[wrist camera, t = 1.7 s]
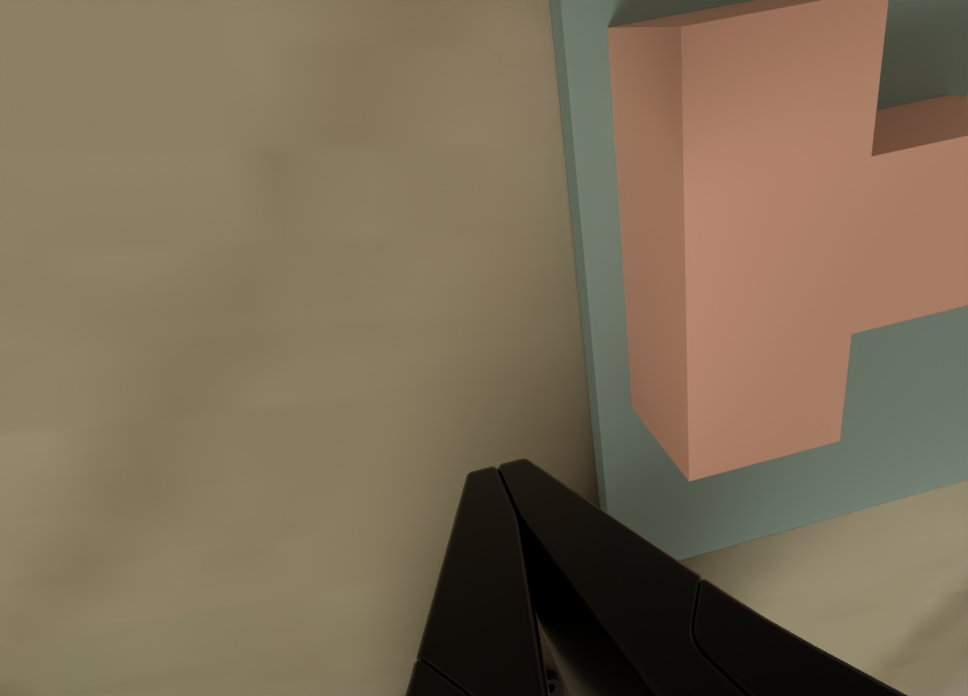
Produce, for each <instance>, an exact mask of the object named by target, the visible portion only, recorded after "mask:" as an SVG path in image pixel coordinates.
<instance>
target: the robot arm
mask: <svg viewBox="0 0 968 696" xmlns="http://www.w3.org/2000/svg"><path fill="white" fill-rule="evenodd" d="M536 617H537V619H536ZM537 620H538V623H539V626H540V628H541V631H542V633H543V635H544V638H545V640H546V643H547V645H548V647H549V649H550V652H551V654H552V656H553V658H554V661H555V663H556V665H557V667H558V670H559V672H560V674H561V676H562V679H563V681H564V683H565V685H566V688H567V690H568V692H569V694H570V696H907V695H905V694H903V693H902V692H900V691H898V690H896V689H894V688H892V687H890V686H889V685H887V684H885V683H883V682H881V681H879V680H877V679H876V678H874V677H872V676H870V675H868V674H866V673H864V672H863V671H861V670H859V669H857V668H855V667H853V666H851V665H850V664H848V663H846V662H844V661H842V660H840V659H838V658H837V657H835V656H833V655H831V654H829V653H827V652H825V651H824V650H822V649H820V648H818V647H816V646H814V645H812V644H811V643H809V642H807V641H805V640H804V639H802V638H800V637H798V636H797V635H795V634H793V633H791V632H790V631H788V630H786V629H784V628H782V627H781V626H779V625H777V624H775V623H774V622H772V621H770V620H768V619H767V618H765V617H764V616H762V615H760V614H759V613H757V612H756V611H754V610H752V609H751V608H749V607H748V606H746V605H745V604H743V603H741V602H740V601H738V600H737V599H735V598H734V597H732V596H730V595H729V594H727V593H726V592H724V591H723V590H721V589H720V588H718V587H717V586H715V585H714V584H712V583H711V582H709V581H708V580H706V579H702V580H701V577H700V575H699V574H697V573H696V572H694V571H693V570H691V569H690V568H688V567H687V566H685V565H684V564H682V563H681V562H679V561H678V560H676V559H675V558H673V557H672V556H670V555H669V554H667V553H666V552H664V551H663V550H661V549H660V548H658V547H657V546H655V545H654V544H652V543H651V542H650V541H648V540H647V539H645V538H644V537H642V536H641V535H639V534H638V533H636V532H635V531H633V530H632V529H630V528H629V527H627V526H626V525H624V524H623V523H621V522H620V521H618V520H617V519H615V518H614V517H612V516H611V515H609V514H608V513H606V512H605V511H603V510H602V509H600V508H599V507H597V506H596V505H594V504H593V503H591V502H590V501H589V500H587V499H586V498H584V497H583V496H581V495H580V494H578V493H577V492H575V491H574V490H572V489H571V488H569V487H568V486H566V485H565V484H563V483H562V482H560V481H559V480H557V479H556V478H554V477H553V476H551V475H550V474H548V473H547V472H545V471H544V470H542V469H541V468H539V467H538V466H536V465H535V464H533V463H532V462H530V461H529V460H527V459H519V460H515V461H511V462H507V463H503V464H501V465H499V467H498V469H497V468H495V467H488V468H484V469H480V470H476V471H472V472H470V473H469V474H468V475H467V477H466V480H465V484H464V488H463V491H462V495H461V498H460V502H459V506H458V509H457V513H456V516H455V520H454V524H453V527H452V531H451V535H450V538H449V542H448V545H447V549H446V553H445V556H444V560H443V563H442V567H441V571H440V574H439V578H438V581H437V585H436V589H435V592H434V596H433V599H432V603H431V607H430V610H429V614H428V617H427V621H426V625H425V628H424V632H423V635H422V639H421V643H420V646H419V650H418V654H417V661H416V662H415V663H414V667H413V670H412V674H411V678H410V681H409V685H408V688H407V692H406V695H405V696H563V689H562V684H561V681H560V678H559V675H558V673H557V672H555V671H554V670H545V665H544V660H543V654H542V648H541V642H540V636H539V630H538V624H537Z"/></svg>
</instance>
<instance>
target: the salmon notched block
mask: <svg viewBox="0 0 968 696" xmlns="http://www.w3.org/2000/svg"><path fill="white" fill-rule="evenodd" d="M888 1H889V0H754V1H749V2H743V3H738V4H733V5H727V6H722V7H717V8H711V9H706V10H700V11H695V12H690V13H684V14H679V15H673V16H668V17H663V18H657V19H652V20H646V21H641V22H636V23H630V24H625V25H619V26H614V27H609V28H607V31H608V47H609V62H610V78H611V94H612V109H613V125H614V140H615V156H616V171H617V187H618V202H619V218H620V233H621V249H622V264H623V280H624V296H625V311H626V327H627V342H628V358H629V373H630V389H631V404H632V409H633V410H634V412H635V413H636V414H637V416H638V417H639V418H640V419H641V421H642V422H643V423H644V424H645V426H646V427H647V428H648V430H649V431H650V432H651V433H652V435H653V436H654V437H655V439H656V440H657V441H658V442H659V444H660V445H661V446H662V447H663V449H664V450H665V451H666V453H667V454H668V455H669V456H670V458H671V459H672V460H673V461H674V463H675V464H676V465H677V467H678V468H679V469H680V470H681V472H682V473H683V474H684V475H685V477H686V478H687V479H688V481H693V480H696V479H700V478H704V477H707V476H711V475H715V474H719V473H722V472H726V471H730V470H734V469H737V468H741V467H745V466H749V465H752V464H756V463H760V462H764V461H767V460H771V459H775V458H779V457H782V456H786V455H790V454H793V453H797V452H801V451H805V450H808V449H812V448H816V447H820V446H823V445H827V444H831V443H835V442H838V441H840V434H841V425H842V416H843V407H844V398H845V389H846V380H847V371H848V362H849V353H850V344H851V335H852V334H854V333H858V332H862V331H866V330H870V329H874V328H878V327H882V326H886V325H890V324H894V323H898V322H902V321H906V320H910V319H914V318H918V317H922V316H926V315H930V314H934V313H938V312H942V311H946V310H950V309H954V308H958V307H962V306H966V305H968V97H966V96H956V95H947V96H943V97H938V98H933V99H928V100H924V101H919V102H914V103H909V104H905V105H900V106H895V107H890V108H885V109H881V110H876V109H877V100H878V91H879V82H880V73H881V64H882V55H883V46H884V37H885V28H886V19H887V10H888Z"/></svg>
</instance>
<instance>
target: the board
mask: <svg viewBox="0 0 968 696" xmlns="http://www.w3.org/2000/svg"><path fill="white" fill-rule="evenodd" d="M749 1H754V0H550V10H551V20H552V30H553V40H554V50H555V60H556V70H557V80H558V90H559V101H560V111H561V121H562V131H563V141H564V151H565V161H566V171H567V181H568V192H569V202H570V212H571V222H572V232H573V242H574V252H575V262H576V272H577V283H578V293H579V303H580V313H581V323H582V333H583V343H584V353H585V363H586V373H587V384H588V394H589V404H590V414H591V424H592V434H593V444H594V454H595V464H596V475H597V485H598V495H599V505H600V509H602V510H603V511H605V512H606V513H608V514H609V515H611V516H612V517H614V518H615V519H617V520H618V521H620V522H621V523H623V524H624V525H626V526H627V527H629V528H630V529H632V530H633V531H635V532H636V533H638V534H639V535H641V536H642V537H644V538H645V539H647V540H648V541H650V542H651V543H652V544H654V545H655V546H657V547H658V548H660V549H661V550H663V551H664V552H666V553H667V554H669V555H670V556H672V557H673V558H675V559H676V560H678V561H680V560H683V559H687V558H690V557H694V556H698V555H701V554H705V553H708V552H712V551H715V550H719V549H723V548H726V547H730V546H733V545H737V544H740V543H744V542H747V541H751V540H755V539H758V538H762V537H765V536H769V535H772V534H776V533H779V532H783V531H787V530H790V529H794V528H797V527H801V526H804V525H808V524H812V523H815V522H819V521H822V520H826V519H829V518H833V517H836V516H840V515H844V514H847V513H851V512H854V511H858V510H861V509H865V508H869V507H872V506H876V505H879V504H883V503H886V502H890V501H893V500H897V499H901V498H904V497H908V496H911V495H915V494H918V493H922V492H926V491H929V490H933V489H936V488H940V487H943V486H947V485H950V484H954V483H958V482H961V481H965V480H968V305H966V306H962V307H958V308H954V309H950V310H946V311H942V312H938V313H934V314H930V315H926V316H922V317H918V318H914V319H910V320H906V321H902V322H898V323H894V324H890V325H886V326H882V327H878V328H874V329H870V330H866V331H862V332H858V333H854V334H852V335H851V344H850V353H849V362H848V371H847V380H846V389H845V398H844V407H843V416H842V425H841V434H840V441H838V442H835V443H831V444H827V445H823V446H820V447H816V448H812V449H808V450H805V451H801V452H797V453H793V454H790V455H786V456H782V457H779V458H775V459H771V460H767V461H764V462H760V463H756V464H752V465H749V466H745V467H741V468H737V469H734V470H730V471H726V472H722V473H719V474H715V475H711V476H707V477H704V478H700V479H696V480H693V481H688V479H687V478H686V477H685V475H684V474H683V473H682V472H681V470H680V469H679V468H678V467H677V465H676V464H675V463H674V461H673V460H672V459H671V458H670V456H669V455H668V454H667V453H666V451H665V450H664V449H663V447H662V446H661V445H660V444H659V442H658V441H657V440H656V439H655V437H654V436H653V435H652V433H651V432H650V431H649V430H648V428H647V427H646V426H645V424H644V423H643V422H642V421H641V419H640V418H639V417H638V416H637V414H636V413H635V412H634V410H633V409H632V404H631V389H630V373H629V358H628V342H627V327H626V311H625V296H624V280H623V264H622V249H621V233H620V218H619V202H618V187H617V171H616V156H615V140H614V125H613V109H612V94H611V78H610V62H609V47H608V31H607V28H609V27H614V26H619V25H625V24H630V23H636V22H641V21H646V20H652V19H657V18H663V17H668V16H673V15H679V14H684V13H690V12H695V11H700V10H706V9H711V8H717V7H722V6H727V5H733V4H738V3H743V2H749ZM947 95H956V96H966V97H968V0H889V1H888V10H887V19H886V28H885V37H884V46H883V55H882V64H881V73H880V82H879V91H878V100H877V109H876V110H881V109H885V108H890V107H895V106H900V105H905V104H909V103H914V102H919V101H924V100H928V99H933V98H938V97H943V96H947Z"/></svg>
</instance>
